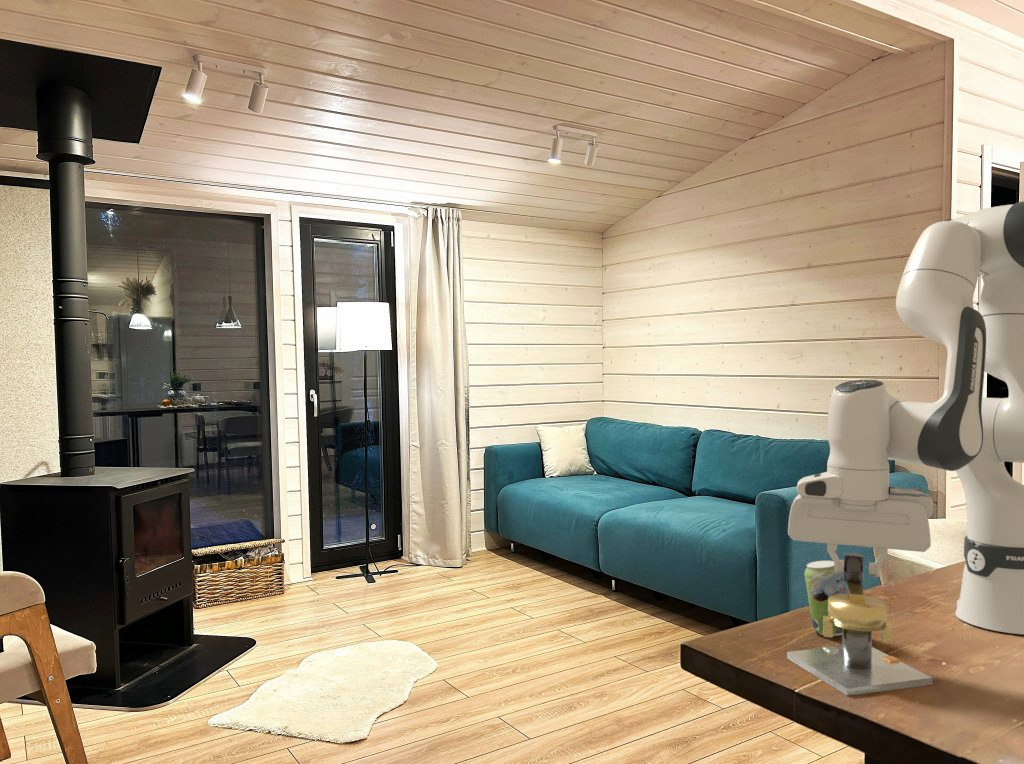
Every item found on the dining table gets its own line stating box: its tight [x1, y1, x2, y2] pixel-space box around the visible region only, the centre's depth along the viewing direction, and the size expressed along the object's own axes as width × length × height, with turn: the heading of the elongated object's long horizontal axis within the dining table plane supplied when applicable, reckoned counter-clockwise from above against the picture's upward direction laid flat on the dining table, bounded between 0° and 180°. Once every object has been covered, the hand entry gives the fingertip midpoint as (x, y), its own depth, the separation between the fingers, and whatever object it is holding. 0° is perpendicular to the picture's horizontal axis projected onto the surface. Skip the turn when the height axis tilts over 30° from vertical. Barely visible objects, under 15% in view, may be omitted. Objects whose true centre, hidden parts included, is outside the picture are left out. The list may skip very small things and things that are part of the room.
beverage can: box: [804, 559, 847, 637], centre depth 133 cm, size 6×7×12 cm
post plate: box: [786, 628, 933, 697], centre depth 117 cm, size 14×14×7 cm
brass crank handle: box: [823, 552, 893, 645], centre depth 119 cm, size 9×12×10 cm
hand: (856, 573), depth 123 cm, fingers open, 4 cm apart
